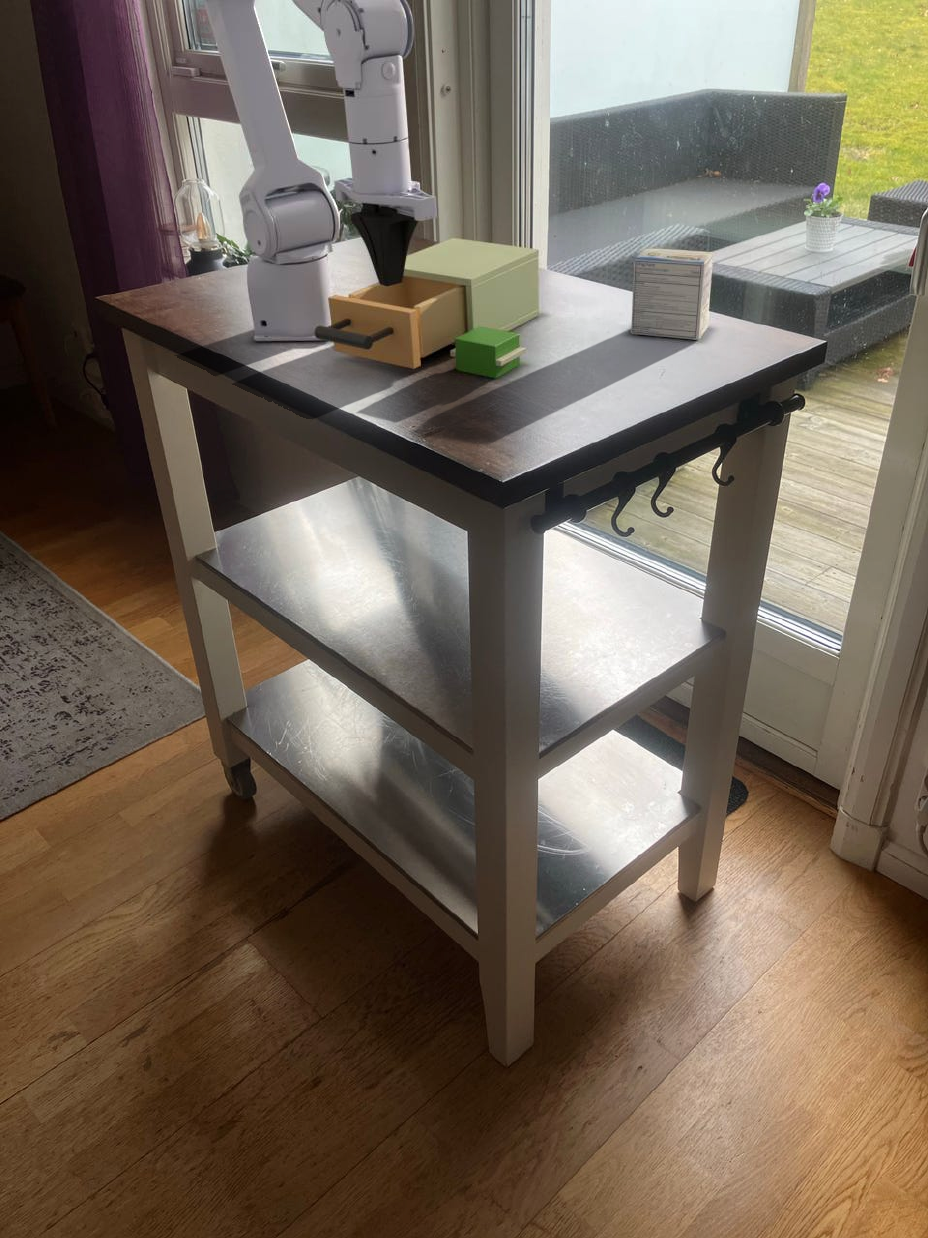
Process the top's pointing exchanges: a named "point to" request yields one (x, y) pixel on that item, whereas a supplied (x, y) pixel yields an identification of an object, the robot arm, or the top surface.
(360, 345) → the drawer
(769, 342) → the top surface
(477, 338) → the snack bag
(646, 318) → the medicine box
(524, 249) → the cabinet
